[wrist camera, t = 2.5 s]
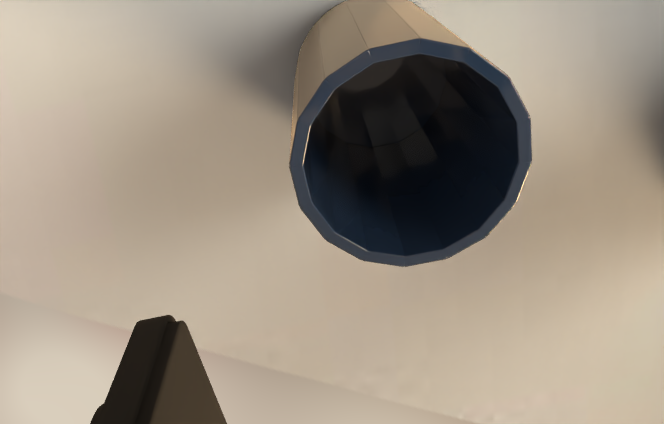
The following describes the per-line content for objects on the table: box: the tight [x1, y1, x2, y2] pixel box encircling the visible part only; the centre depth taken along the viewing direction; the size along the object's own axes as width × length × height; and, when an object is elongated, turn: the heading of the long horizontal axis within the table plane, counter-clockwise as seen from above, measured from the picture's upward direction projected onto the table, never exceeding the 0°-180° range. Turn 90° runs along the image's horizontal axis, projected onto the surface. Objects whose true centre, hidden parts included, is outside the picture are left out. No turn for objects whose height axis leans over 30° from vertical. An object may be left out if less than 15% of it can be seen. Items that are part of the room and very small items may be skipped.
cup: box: [289, 0, 532, 267], centre depth 21 cm, size 7×7×10 cm
